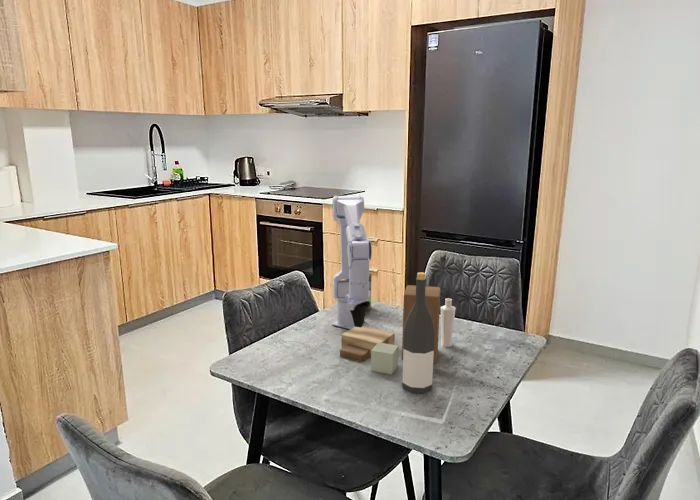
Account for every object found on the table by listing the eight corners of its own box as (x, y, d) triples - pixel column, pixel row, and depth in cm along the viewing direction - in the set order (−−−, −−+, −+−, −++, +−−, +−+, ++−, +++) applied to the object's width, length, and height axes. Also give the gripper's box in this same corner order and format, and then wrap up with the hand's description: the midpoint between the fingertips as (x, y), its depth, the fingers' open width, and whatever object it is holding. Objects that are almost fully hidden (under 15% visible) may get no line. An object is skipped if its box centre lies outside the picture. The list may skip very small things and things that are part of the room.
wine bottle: (426, 396, 119) (431, 279, 113) (396, 389, 123) (399, 274, 117) (437, 383, 126) (442, 271, 120) (408, 376, 130) (412, 267, 124)
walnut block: (348, 344, 146) (339, 349, 142) (370, 349, 142) (362, 355, 138) (348, 350, 147) (339, 356, 142) (370, 356, 143) (361, 362, 139)
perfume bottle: (453, 343, 152) (455, 297, 149) (454, 348, 148) (457, 301, 145) (438, 342, 153) (440, 296, 150) (439, 347, 148) (441, 301, 145)
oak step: (358, 337, 156) (358, 324, 155) (394, 346, 150) (394, 332, 149) (341, 348, 148) (341, 334, 147) (378, 357, 141) (379, 343, 140)
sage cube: (377, 362, 139) (378, 342, 137) (398, 365, 137) (398, 345, 135) (370, 370, 133) (371, 350, 132) (391, 374, 131) (392, 353, 130)
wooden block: (436, 364, 137) (439, 296, 133) (401, 361, 139) (403, 294, 135) (437, 350, 147) (440, 286, 143) (404, 347, 149) (406, 284, 145)
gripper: (355, 274, 147) (354, 316, 150) (336, 286, 134) (336, 332, 137) (377, 276, 145) (376, 319, 148) (360, 289, 132) (359, 336, 135)
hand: (358, 326), depth 142 cm, fingers closed
